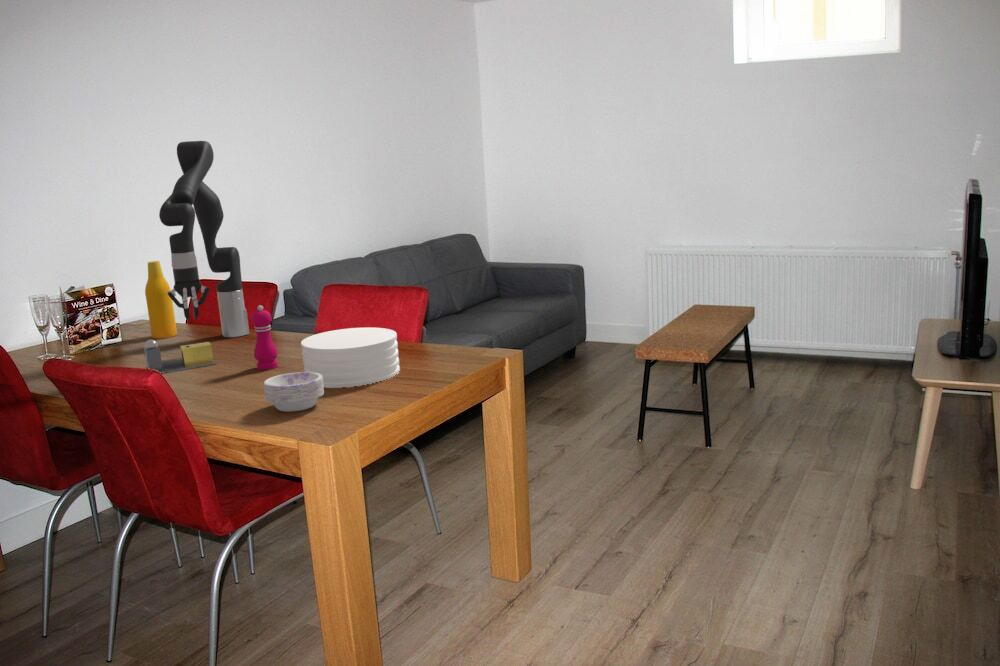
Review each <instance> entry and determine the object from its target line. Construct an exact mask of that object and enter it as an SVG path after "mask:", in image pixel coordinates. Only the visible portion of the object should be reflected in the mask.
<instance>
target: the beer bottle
mask: <svg viewBox="0 0 1000 666" xmlns="http://www.w3.org/2000/svg"><path fill="white" fill-rule="evenodd" d="M171 290H172V289H171V287H170V284H169V283H168V281H167V280H166V277H165V276H164V273H163V270H162V265H161V261H159V260H151V261H147V282H146V284H145V290H144V293H145V294H144V295H145V299H146V301H145V302H146V306H147V312H148V318H149V319H148V320H149V327H150V334H151V337H152V339H154V340H156V339H158V340H159V339H169V338H173V337H175V336H176V335H178V330H177V323H176V317H175V310H174V304H173V303H174V302H173V300H172V299H171V298H170V297H169V296H168V294H167V292H168V291H171Z"/></svg>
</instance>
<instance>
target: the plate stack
mask: <svg viewBox="0 0 1000 666" xmlns="http://www.w3.org/2000/svg"><path fill="white" fill-rule="evenodd" d="M397 339H398V333H397V332H396V331H395V330H393V329H389V328H384V327H349V328H340V329H334V330H329V331H323V332H319V333H316V334H313V335H310V336H307V337H305V338H303V339H302V340H301V342H300V347H301V349H302V350H301V356H302V357H303V358H302V364H303V366H304V367H303V372H314V373H318V374H321V375H322V377H323V385H324V386H323V387H324V388H326V389H342V387H346V388H355V387H354V386H357V387H363V386H362V385H364V386H368V385H367V384H369V385H373V384H372V383H374V384H376V383H375V382H378V383H380V382H379V381H382V382H384V381H383V380H385V381H387V380H386V379H388V380H390V379H392V378H394V377H396V376H397V375H399V374H400V372H401V366H400V358H399V348H398V340H397ZM399 371H400V372H399ZM396 374H397V375H396ZM395 375H396V376H395ZM393 376H394V377H393ZM391 377H392V378H391ZM389 378H390V379H389Z"/></svg>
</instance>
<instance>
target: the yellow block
mask: <svg viewBox="0 0 1000 666" xmlns="http://www.w3.org/2000/svg"><path fill="white" fill-rule="evenodd" d="M180 351H181V358H182V357H184V364H185V365H192V364H198V363H204V362H210V361H215V360H214V353H213V347H212V343H211V342H210V341H204V342H197V343H191V344H185V345H180Z"/></svg>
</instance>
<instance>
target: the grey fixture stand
mask: <svg viewBox="0 0 1000 666" xmlns="http://www.w3.org/2000/svg"><path fill="white" fill-rule="evenodd" d="M143 352H144V356H145V363H146V366H147V367H146V369H147V368H150V369H155V370H158V371H159V372H161V373H162V372H164V373H163V374H168V372H169V373H175V372H180V371H185V370H186V371H187V370H191V369H197V368H204V367H209V366H215V365H217V363H216V361H215V360H214V361H210V362H204V363H198V364H192V365H185V364H184V357H182V356H181V357H177V358H171V359H170V358H169V359H164V360H162V357H161V350H160V347H159V344H158V342H157V340H156V339H148V340H147V341H145V343H144V346H143ZM174 371H175V372H174ZM166 372H167V373H166Z"/></svg>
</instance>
